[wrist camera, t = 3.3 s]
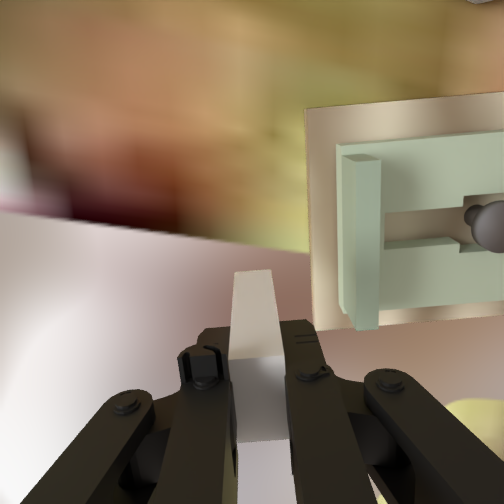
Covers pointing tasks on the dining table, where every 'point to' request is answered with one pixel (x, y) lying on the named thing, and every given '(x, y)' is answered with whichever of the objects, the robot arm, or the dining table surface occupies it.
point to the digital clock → (478, 1)
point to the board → (397, 223)
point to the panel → (411, 199)
